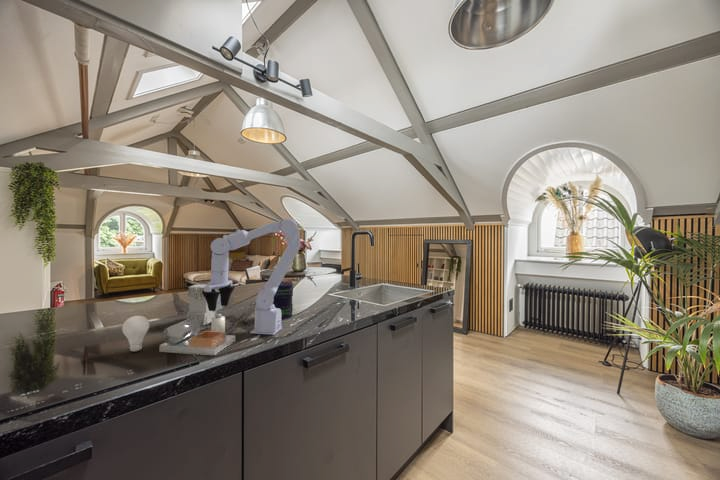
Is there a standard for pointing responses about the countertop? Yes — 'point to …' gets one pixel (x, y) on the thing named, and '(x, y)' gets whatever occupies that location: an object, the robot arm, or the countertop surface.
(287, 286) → the storage jar
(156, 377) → the countertop surface
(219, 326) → the white bottle
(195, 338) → the white rectangular base assembly
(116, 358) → the countertop surface
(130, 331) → the light bulb
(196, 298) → the circuit breaker
